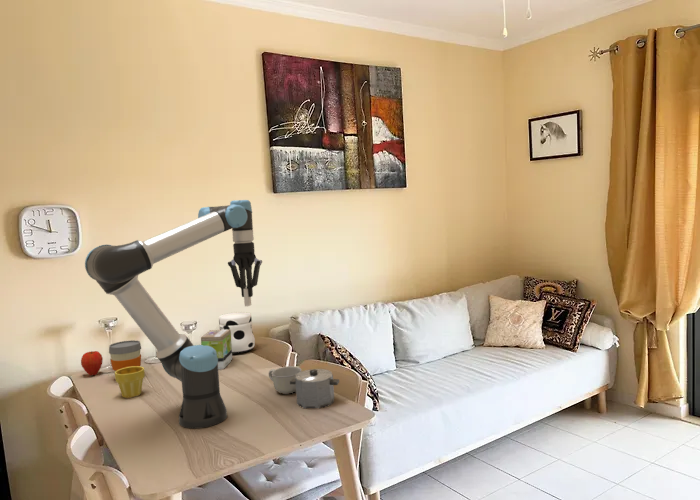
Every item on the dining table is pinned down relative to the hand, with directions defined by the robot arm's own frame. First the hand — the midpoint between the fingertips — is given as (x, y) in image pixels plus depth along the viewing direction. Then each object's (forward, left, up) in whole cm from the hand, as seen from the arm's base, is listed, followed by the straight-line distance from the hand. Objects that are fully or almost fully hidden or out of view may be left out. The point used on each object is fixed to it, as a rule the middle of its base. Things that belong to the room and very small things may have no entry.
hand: (248, 305), depth 200 cm
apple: (+16, +82, -33) cm, 90 cm away
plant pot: (-7, +47, -33) cm, 58 cm away
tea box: (+33, +31, -33) cm, 56 cm away
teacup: (+1, -12, -33) cm, 35 cm away
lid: (-10, -27, -23) cm, 37 cm away
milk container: (+56, +32, -33) cm, 72 cm away
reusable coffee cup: (+12, +62, -33) cm, 71 cm away
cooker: (-10, -27, -32) cm, 43 cm away
